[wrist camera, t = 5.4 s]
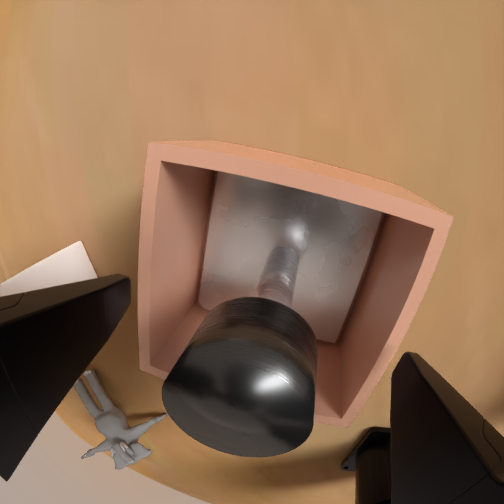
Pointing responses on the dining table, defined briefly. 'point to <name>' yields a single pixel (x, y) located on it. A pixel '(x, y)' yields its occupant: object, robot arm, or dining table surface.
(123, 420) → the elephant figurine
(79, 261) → the milk
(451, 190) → the dining table surface
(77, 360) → the robot arm
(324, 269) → the joystick lever
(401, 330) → the clay pot
